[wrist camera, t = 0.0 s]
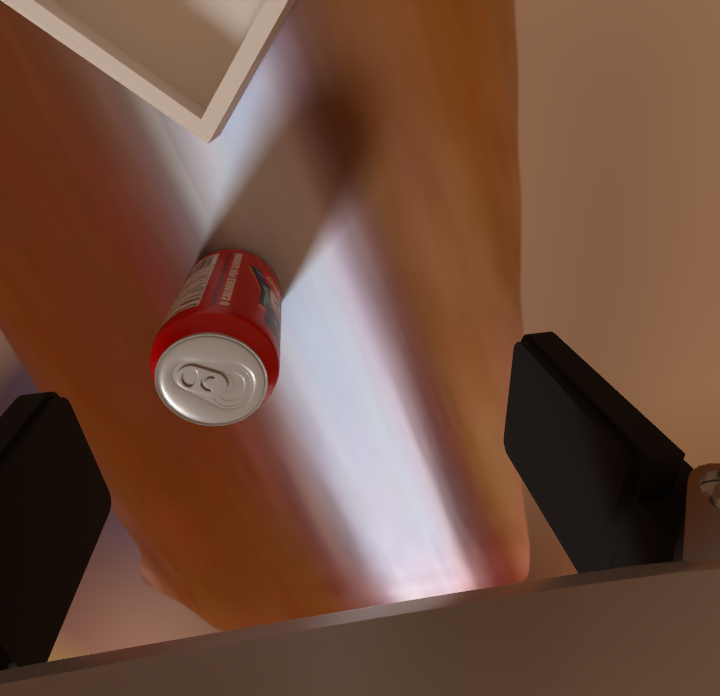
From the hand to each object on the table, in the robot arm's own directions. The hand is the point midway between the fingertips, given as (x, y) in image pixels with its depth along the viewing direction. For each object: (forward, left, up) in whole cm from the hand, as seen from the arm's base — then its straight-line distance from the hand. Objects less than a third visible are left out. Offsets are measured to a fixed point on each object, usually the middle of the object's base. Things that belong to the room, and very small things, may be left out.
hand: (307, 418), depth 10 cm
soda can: (+11, +1, -31) cm, 33 cm away
